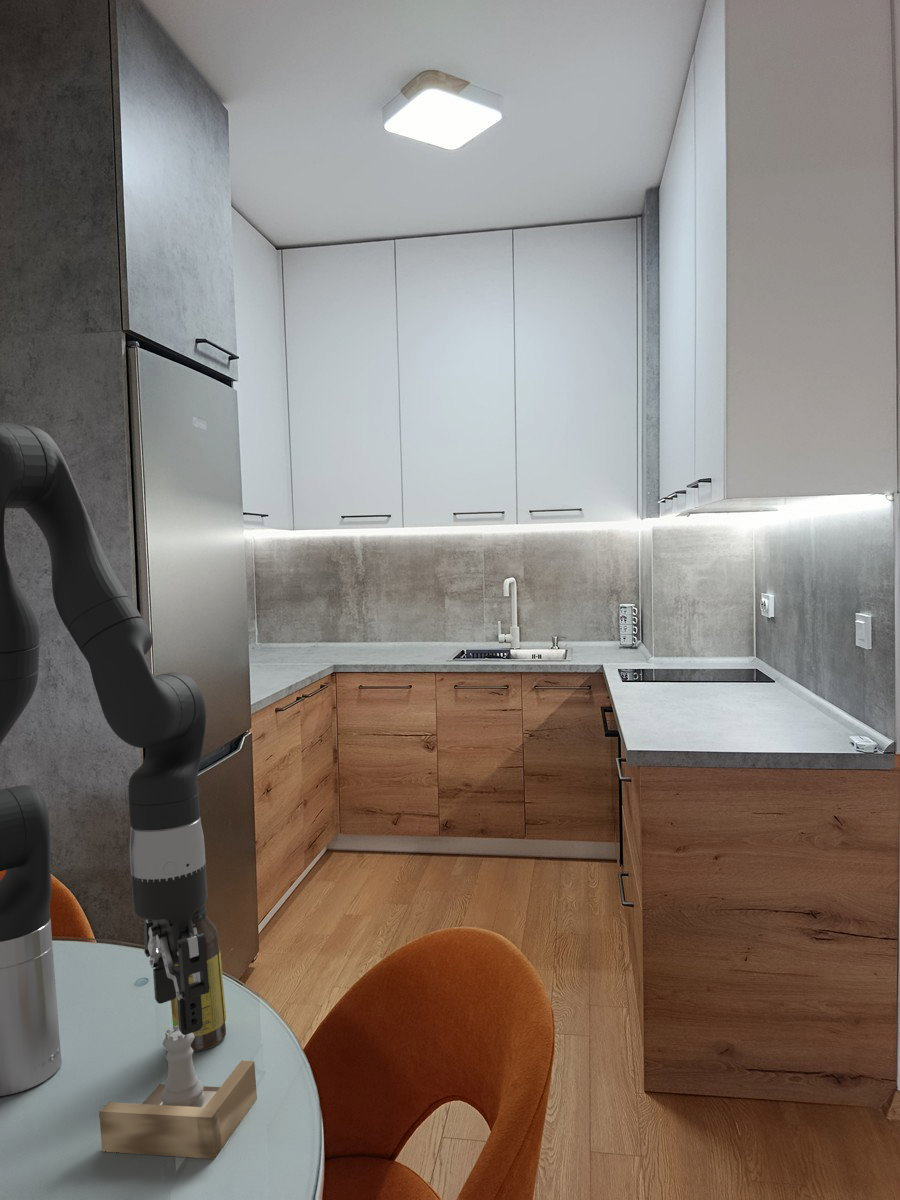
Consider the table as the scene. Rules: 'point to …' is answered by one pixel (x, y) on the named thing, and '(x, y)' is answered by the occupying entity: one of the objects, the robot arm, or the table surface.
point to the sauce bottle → (214, 999)
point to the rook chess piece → (181, 1072)
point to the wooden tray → (180, 1120)
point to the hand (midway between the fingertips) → (178, 1015)
